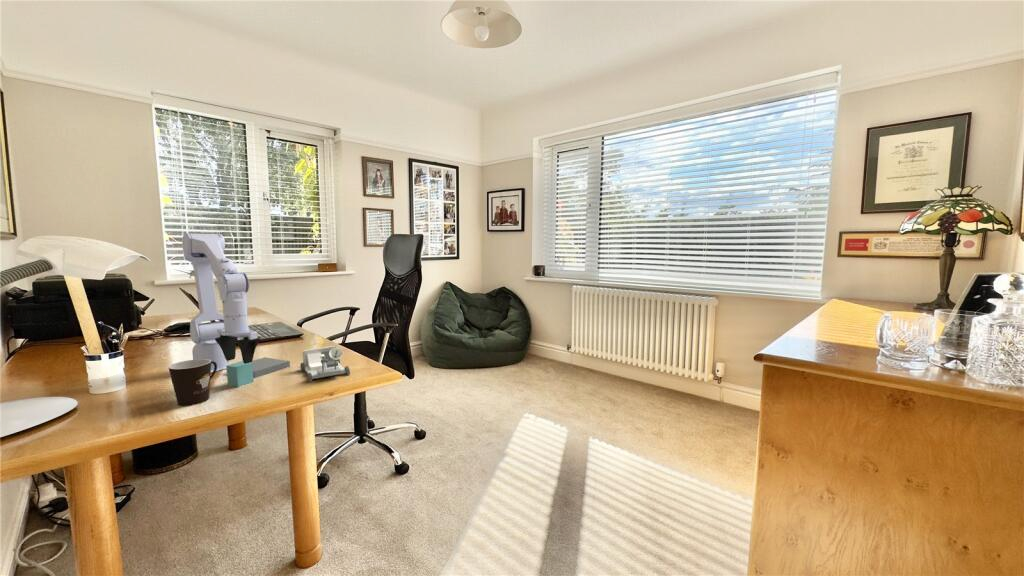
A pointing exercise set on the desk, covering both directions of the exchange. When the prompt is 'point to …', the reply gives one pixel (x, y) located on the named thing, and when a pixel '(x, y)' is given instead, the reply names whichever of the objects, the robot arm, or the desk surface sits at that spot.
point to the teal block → (239, 374)
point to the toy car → (323, 362)
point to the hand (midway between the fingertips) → (239, 361)
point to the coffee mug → (192, 380)
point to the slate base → (268, 366)
